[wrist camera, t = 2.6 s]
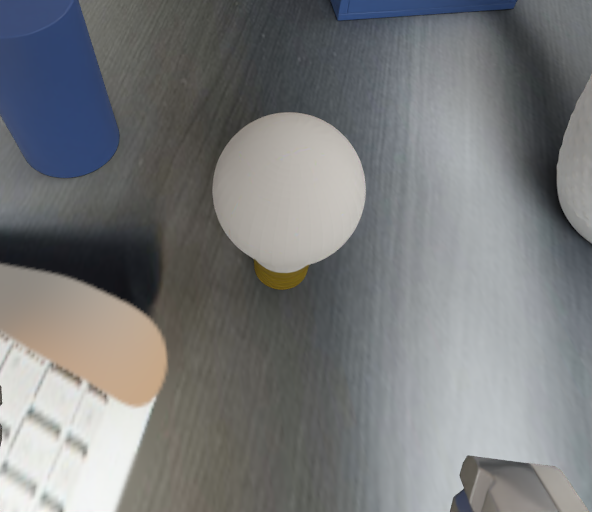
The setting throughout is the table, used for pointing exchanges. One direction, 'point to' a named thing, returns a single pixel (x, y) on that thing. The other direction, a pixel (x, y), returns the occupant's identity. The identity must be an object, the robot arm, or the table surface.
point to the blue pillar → (54, 88)
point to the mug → (577, 166)
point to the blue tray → (412, 7)
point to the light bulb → (288, 194)
